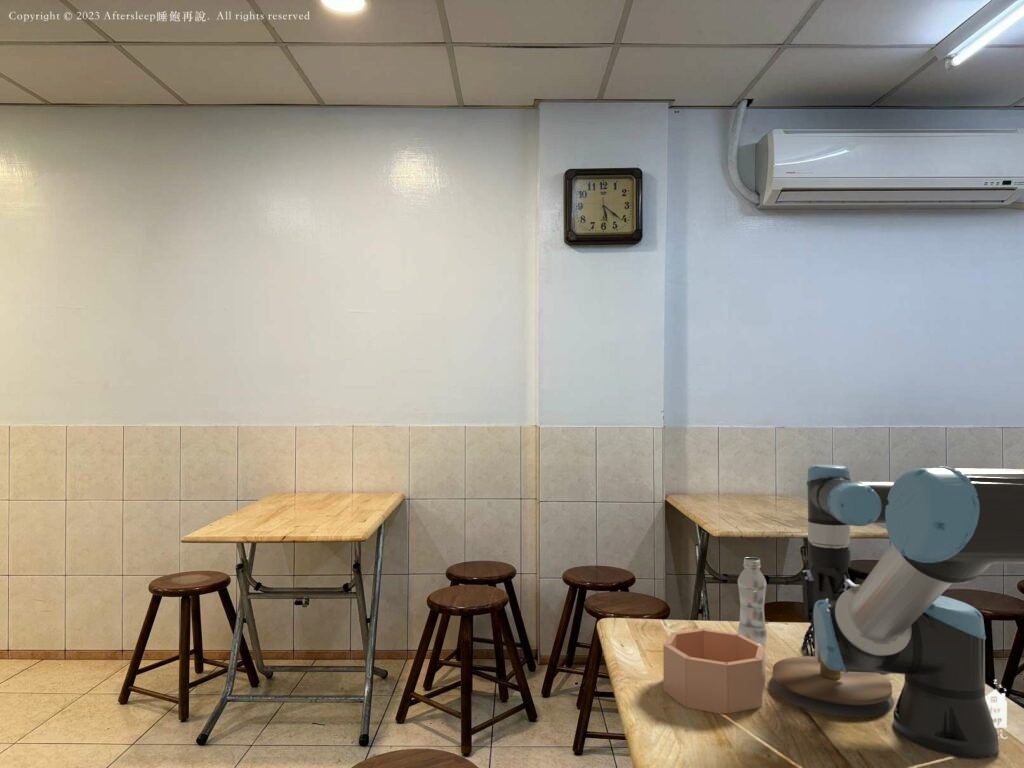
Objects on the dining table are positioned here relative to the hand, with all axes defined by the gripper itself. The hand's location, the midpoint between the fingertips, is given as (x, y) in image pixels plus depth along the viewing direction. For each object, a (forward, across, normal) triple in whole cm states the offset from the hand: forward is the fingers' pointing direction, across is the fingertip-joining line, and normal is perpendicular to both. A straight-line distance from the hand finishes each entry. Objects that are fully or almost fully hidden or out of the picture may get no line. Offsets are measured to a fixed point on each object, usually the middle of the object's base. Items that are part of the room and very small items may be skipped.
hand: (830, 665), depth 134 cm
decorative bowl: (+6, +13, -20) cm, 24 cm away
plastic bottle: (+5, +26, -3) cm, 27 cm away
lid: (+3, 0, 0) cm, 3 cm away
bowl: (+5, +8, +21) cm, 23 cm away
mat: (+5, 0, 0) cm, 6 cm away
